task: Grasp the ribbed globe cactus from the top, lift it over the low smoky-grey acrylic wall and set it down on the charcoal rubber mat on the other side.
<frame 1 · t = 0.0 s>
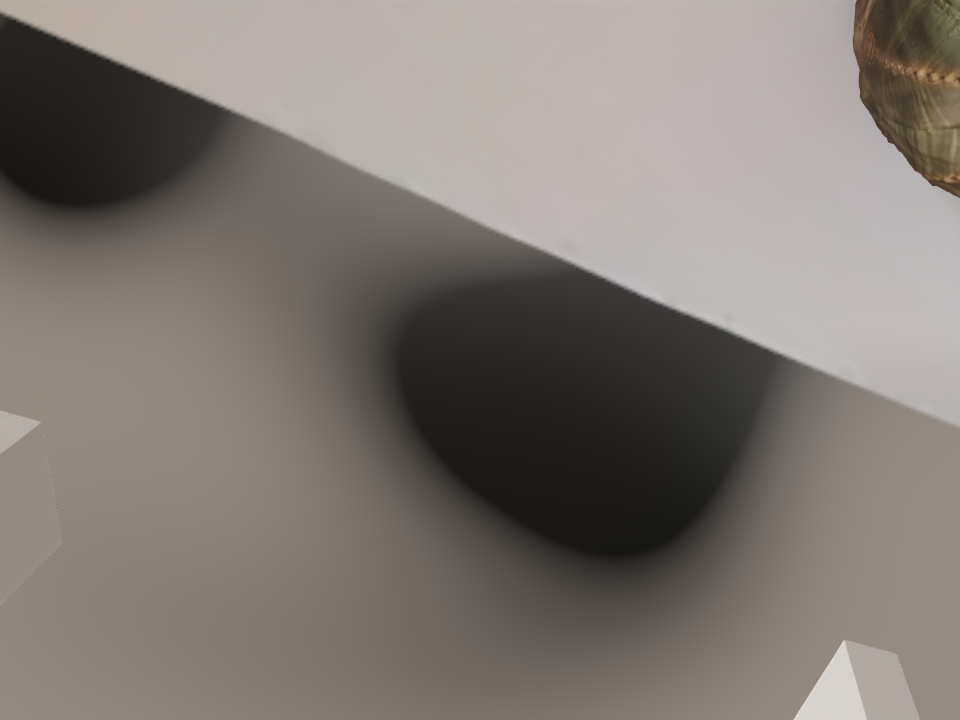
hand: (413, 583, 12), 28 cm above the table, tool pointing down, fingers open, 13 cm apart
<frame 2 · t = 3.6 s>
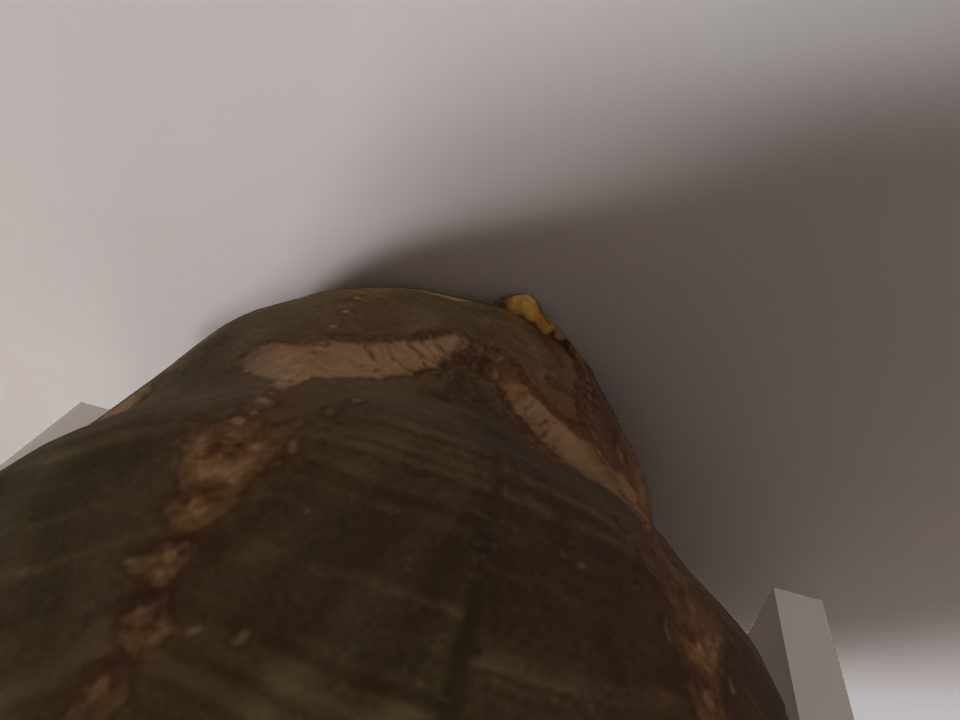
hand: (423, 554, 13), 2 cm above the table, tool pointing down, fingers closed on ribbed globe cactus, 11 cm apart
ribbed globe cactus: (451, 491, 14), on the table, touching gripper
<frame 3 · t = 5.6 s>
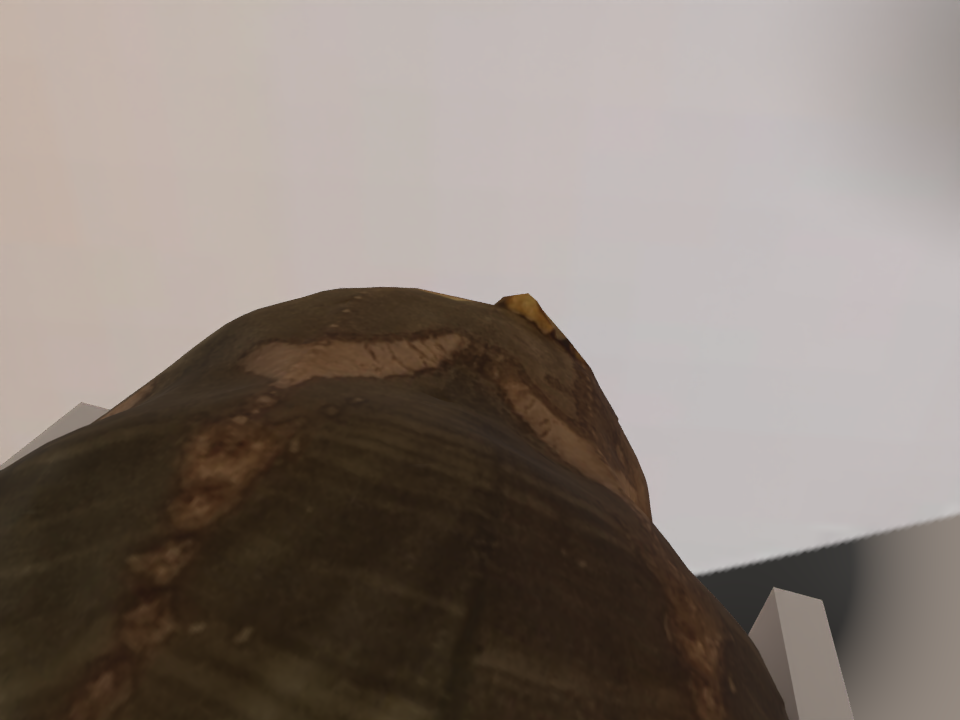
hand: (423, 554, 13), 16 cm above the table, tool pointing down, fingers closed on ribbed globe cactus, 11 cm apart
ribbed globe cactus: (452, 490, 14), point 15 cm above the table, touching gripper
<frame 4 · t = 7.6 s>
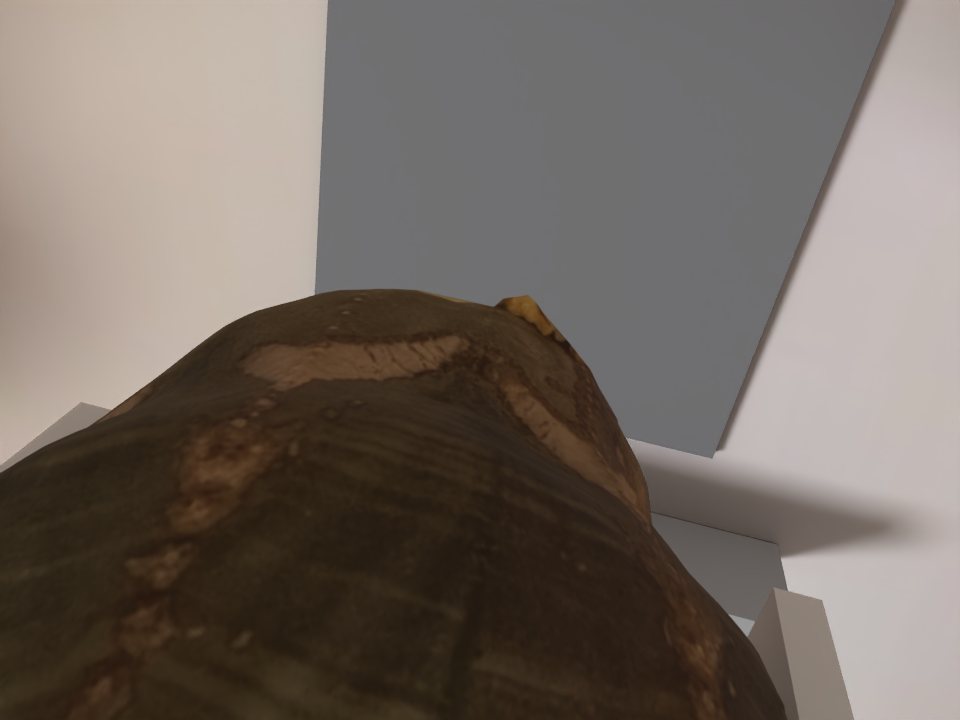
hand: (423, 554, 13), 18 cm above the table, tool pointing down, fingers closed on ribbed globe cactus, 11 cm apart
ribbed globe cactus: (451, 492, 14), point 16 cm above the table, touching gripper
acrylic wall: (496, 481, 35), on the table
rest mat: (549, 209, 28), on the table
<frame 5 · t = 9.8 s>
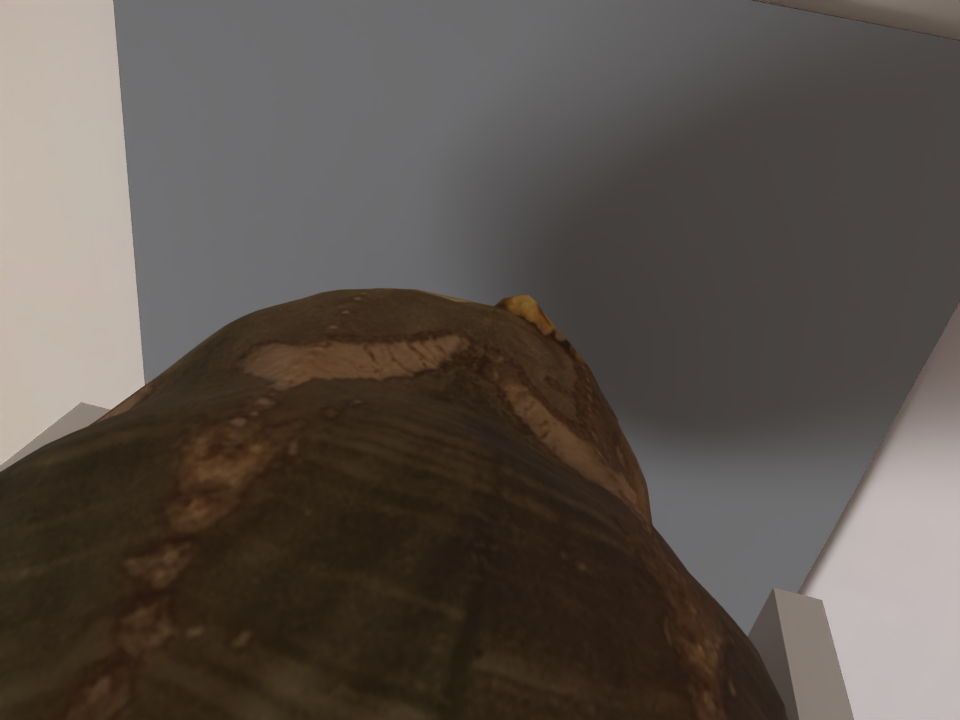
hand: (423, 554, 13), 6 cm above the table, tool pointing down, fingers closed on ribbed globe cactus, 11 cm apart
ribbed globe cactus: (451, 491, 14), point 5 cm above the table, touching gripper
rest mat: (486, 374, 18), on the table
when the fingers open (3 cm above the table, at t = 11.5 s): ribbed globe cactus drops 1 cm, resting on rest mat.
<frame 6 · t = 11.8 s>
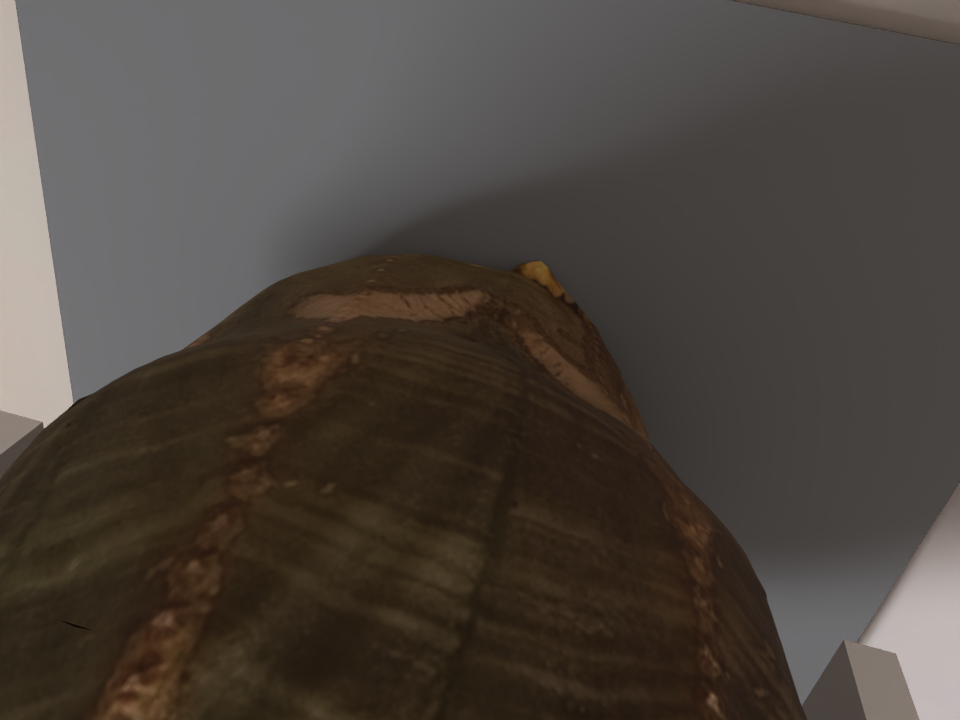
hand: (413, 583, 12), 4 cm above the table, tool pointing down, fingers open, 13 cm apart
ribbed globe cactus: (468, 448, 15), resting on rest mat
rest mat: (466, 441, 16), on the table
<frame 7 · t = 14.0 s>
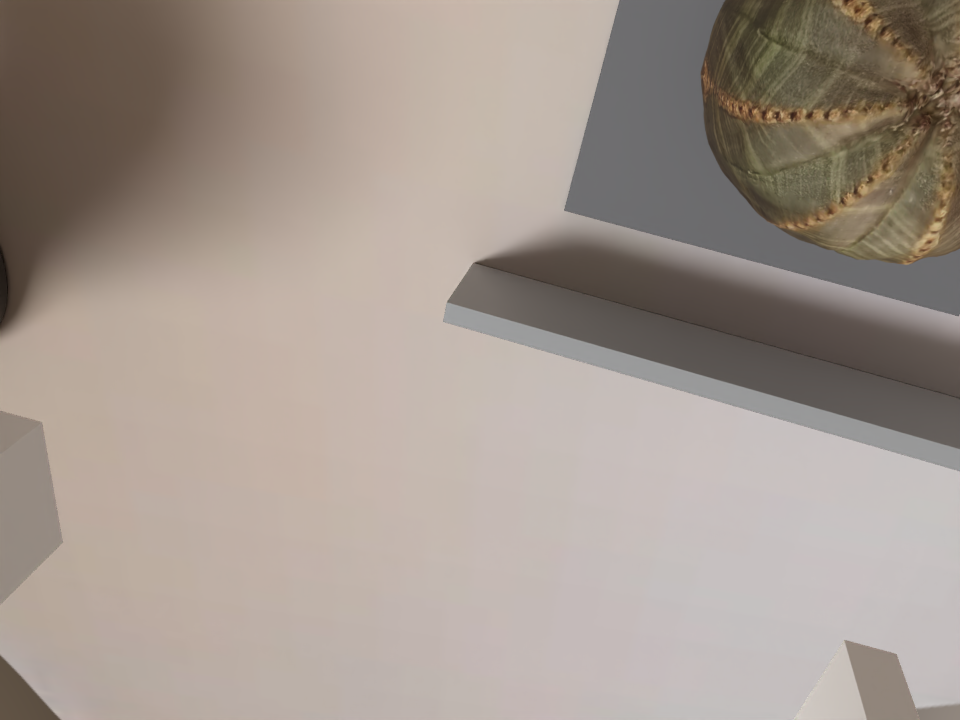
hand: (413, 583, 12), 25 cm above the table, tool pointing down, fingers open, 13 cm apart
ribbed globe cactus: (844, 53, 29), resting on rest mat
acrylic wall: (724, 342, 36), on the table
rest mat: (841, 52, 29), on the table
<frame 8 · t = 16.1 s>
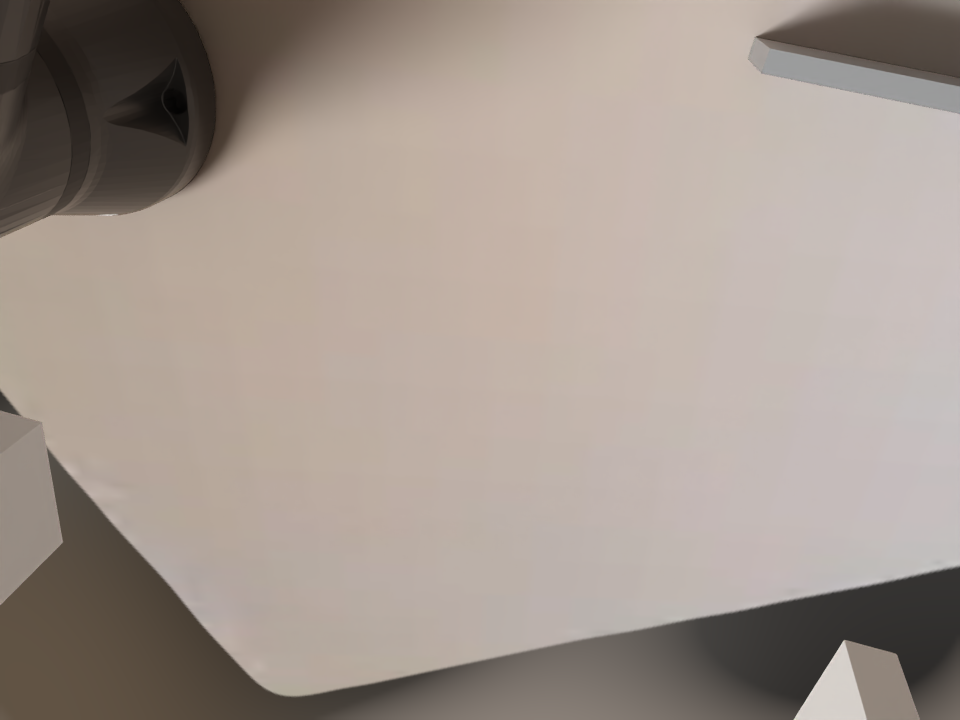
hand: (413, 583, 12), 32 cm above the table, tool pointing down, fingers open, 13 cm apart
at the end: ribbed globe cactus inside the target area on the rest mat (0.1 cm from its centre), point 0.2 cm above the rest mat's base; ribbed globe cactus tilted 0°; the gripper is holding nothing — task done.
